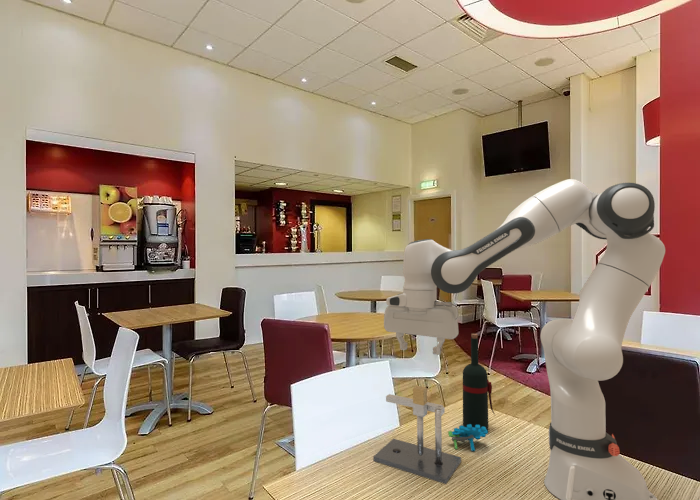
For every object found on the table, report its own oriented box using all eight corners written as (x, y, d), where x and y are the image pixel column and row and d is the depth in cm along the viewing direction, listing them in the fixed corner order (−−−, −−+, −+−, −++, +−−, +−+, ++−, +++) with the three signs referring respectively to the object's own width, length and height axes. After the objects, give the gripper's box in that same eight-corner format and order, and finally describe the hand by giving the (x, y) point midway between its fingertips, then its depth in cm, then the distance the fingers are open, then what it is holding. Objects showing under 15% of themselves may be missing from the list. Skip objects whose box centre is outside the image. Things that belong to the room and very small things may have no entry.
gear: (486, 434, 117) (486, 420, 110) (491, 456, 112) (491, 442, 106) (449, 436, 119) (446, 423, 112) (452, 458, 114) (449, 445, 108)
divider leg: (427, 455, 105) (426, 387, 105) (424, 459, 103) (423, 390, 103) (417, 452, 106) (416, 385, 106) (413, 455, 104) (412, 388, 104)
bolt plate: (461, 461, 105) (460, 457, 105) (445, 484, 94) (445, 478, 94) (393, 442, 115) (393, 438, 115) (373, 460, 105) (373, 456, 105)
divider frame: (446, 458, 104) (445, 405, 104) (440, 465, 101) (440, 411, 101) (389, 442, 113) (389, 394, 113) (382, 448, 110) (382, 398, 110)
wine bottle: (499, 435, 120) (498, 336, 120) (466, 435, 120) (465, 336, 120) (490, 424, 127) (489, 331, 128) (459, 424, 128) (458, 331, 128)
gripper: (461, 301, 102) (462, 354, 102) (391, 296, 113) (391, 344, 113) (454, 303, 97) (454, 360, 97) (381, 298, 108) (381, 349, 108)
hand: (419, 351), depth 105 cm, fingers open, 8 cm apart
